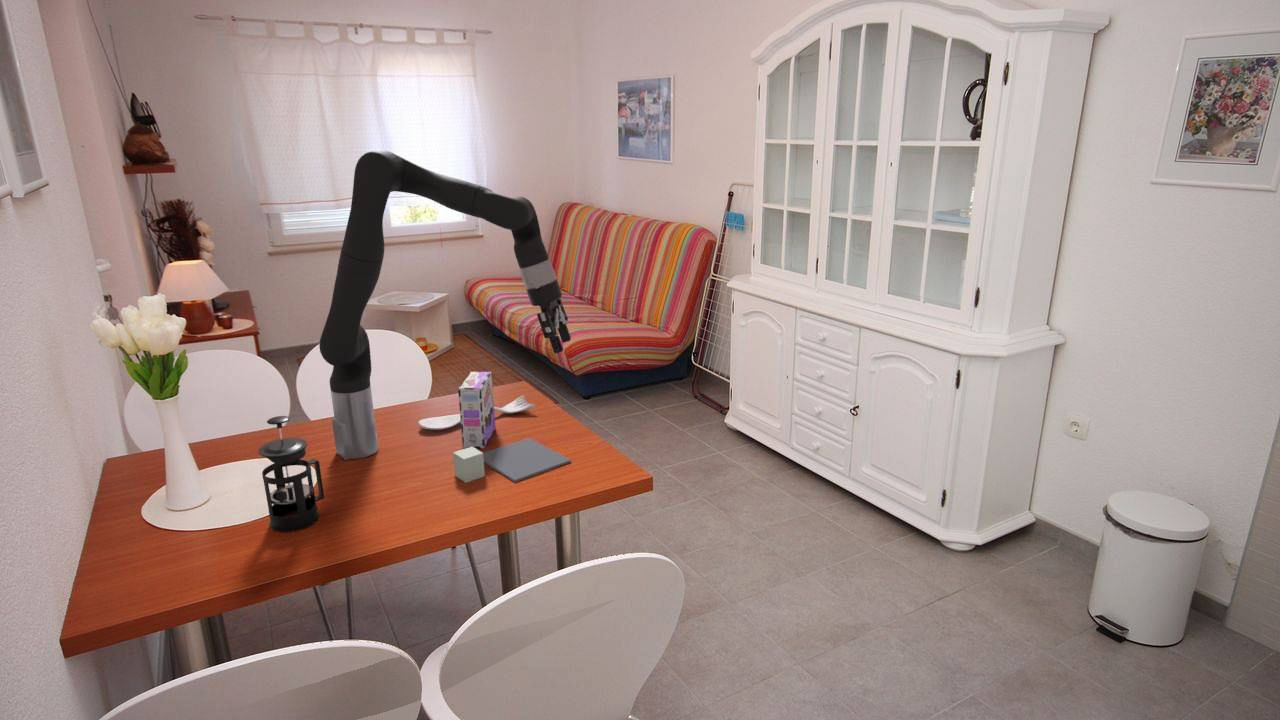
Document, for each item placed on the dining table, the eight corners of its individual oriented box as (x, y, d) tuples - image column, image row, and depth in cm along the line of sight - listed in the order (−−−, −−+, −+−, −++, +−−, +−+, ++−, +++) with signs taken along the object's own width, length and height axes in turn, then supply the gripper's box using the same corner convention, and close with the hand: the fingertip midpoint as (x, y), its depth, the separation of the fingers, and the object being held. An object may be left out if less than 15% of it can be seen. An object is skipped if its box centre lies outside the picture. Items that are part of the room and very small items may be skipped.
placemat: (514, 482, 170) (514, 479, 170) (475, 457, 183) (475, 455, 183) (570, 462, 180) (570, 459, 180) (529, 440, 193) (529, 437, 193)
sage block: (465, 483, 170) (463, 459, 168) (455, 475, 173) (453, 452, 172) (484, 476, 173) (483, 453, 171) (474, 469, 177) (472, 446, 175)
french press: (279, 539, 147) (260, 432, 140) (258, 523, 153) (240, 420, 146) (335, 516, 155) (320, 414, 148) (314, 502, 161) (299, 404, 154)
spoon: (536, 414, 211) (535, 403, 210) (424, 437, 195) (423, 425, 194) (524, 404, 218) (523, 393, 217) (415, 426, 203) (414, 414, 202)
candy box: (485, 449, 188) (480, 388, 183) (462, 449, 188) (456, 388, 183) (496, 428, 201) (492, 370, 196) (474, 427, 201) (470, 370, 196)
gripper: (533, 280, 179) (555, 341, 183) (517, 293, 165) (541, 359, 170) (562, 271, 177) (583, 334, 181) (548, 284, 164) (571, 352, 168)
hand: (563, 346), depth 176 cm, fingers open, 8 cm apart
